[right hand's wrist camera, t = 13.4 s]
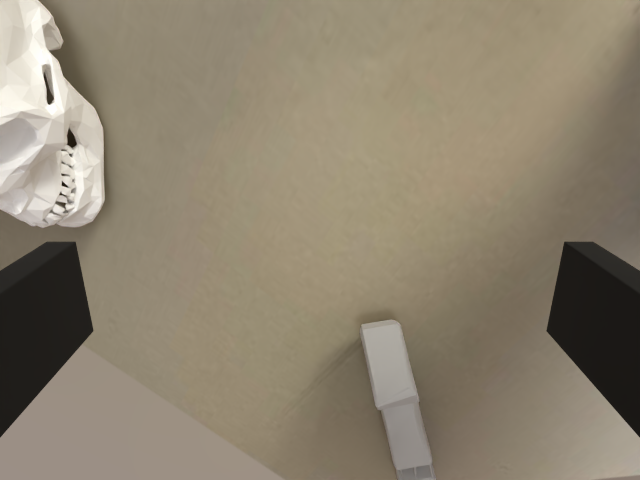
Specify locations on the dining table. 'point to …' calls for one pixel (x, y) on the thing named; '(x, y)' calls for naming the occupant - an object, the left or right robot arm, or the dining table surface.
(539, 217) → the dining table surface
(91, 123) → the skull
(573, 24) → the dining table surface
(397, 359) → the white jointed bar
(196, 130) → the dining table surface
